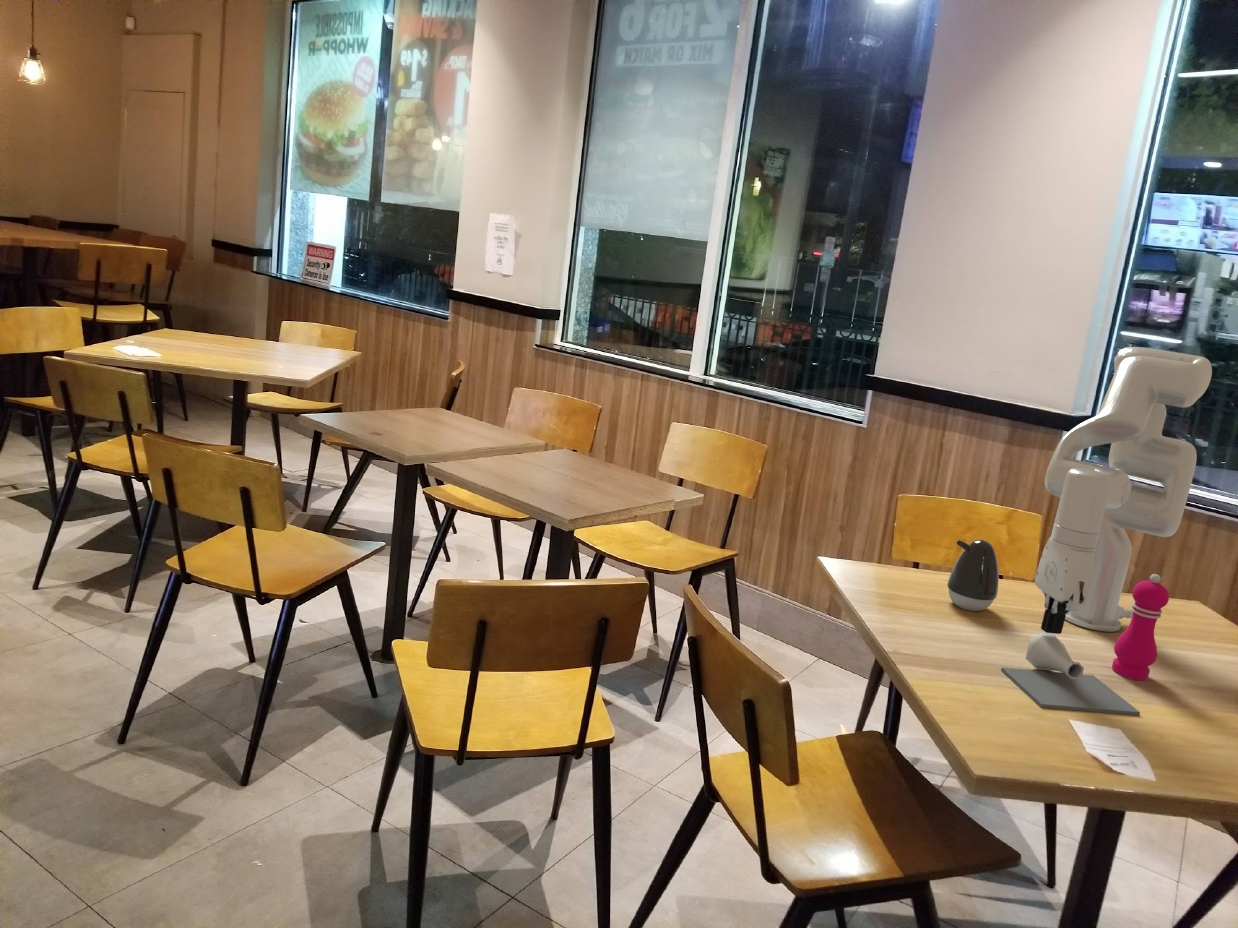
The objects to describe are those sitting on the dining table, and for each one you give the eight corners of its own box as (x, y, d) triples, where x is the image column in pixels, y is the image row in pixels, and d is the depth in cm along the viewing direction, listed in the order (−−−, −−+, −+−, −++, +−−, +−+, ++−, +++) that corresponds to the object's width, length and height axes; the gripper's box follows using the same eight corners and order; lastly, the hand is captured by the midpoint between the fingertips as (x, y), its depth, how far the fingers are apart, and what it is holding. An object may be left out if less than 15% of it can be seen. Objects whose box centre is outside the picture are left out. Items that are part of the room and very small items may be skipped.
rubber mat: (1092, 678, 176) (1093, 675, 176) (1139, 715, 163) (1140, 712, 163) (1001, 670, 174) (1001, 667, 174) (1040, 707, 161) (1041, 703, 161)
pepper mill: (1146, 670, 184) (1173, 573, 179) (1153, 685, 177) (1182, 584, 173) (1106, 661, 186) (1131, 564, 181) (1111, 675, 179) (1138, 575, 175)
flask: (1050, 674, 178) (1082, 696, 169) (1018, 660, 177) (1048, 681, 167) (1068, 640, 178) (1101, 660, 168) (1037, 626, 176) (1068, 645, 167)
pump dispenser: (938, 594, 213) (953, 529, 209) (986, 602, 212) (1001, 537, 208) (947, 610, 203) (962, 542, 200) (997, 619, 202) (1013, 551, 198)
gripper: (1033, 522, 178) (1011, 614, 182) (1077, 548, 164) (1053, 646, 168) (1071, 526, 179) (1048, 617, 183) (1118, 552, 165) (1092, 650, 169)
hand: (1050, 631), depth 176 cm, fingers closed
